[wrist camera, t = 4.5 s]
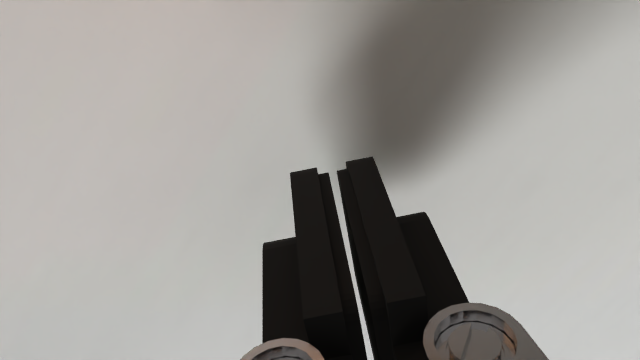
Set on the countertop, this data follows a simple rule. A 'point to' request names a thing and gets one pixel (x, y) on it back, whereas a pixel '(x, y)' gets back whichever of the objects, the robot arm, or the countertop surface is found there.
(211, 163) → the countertop surface
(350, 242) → the robot arm
